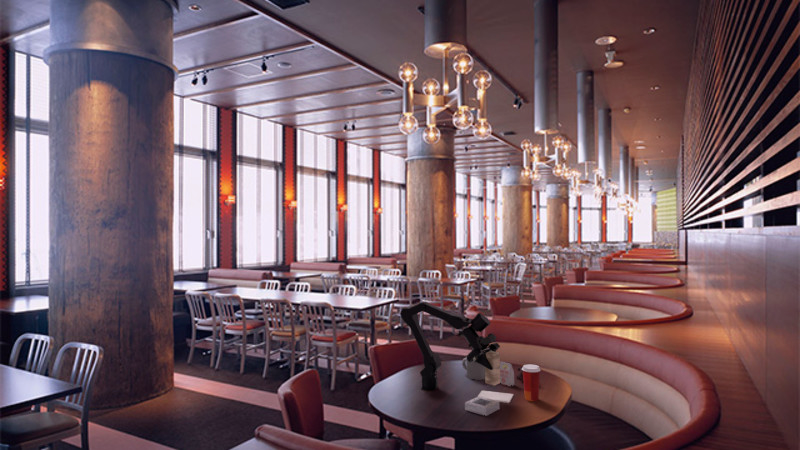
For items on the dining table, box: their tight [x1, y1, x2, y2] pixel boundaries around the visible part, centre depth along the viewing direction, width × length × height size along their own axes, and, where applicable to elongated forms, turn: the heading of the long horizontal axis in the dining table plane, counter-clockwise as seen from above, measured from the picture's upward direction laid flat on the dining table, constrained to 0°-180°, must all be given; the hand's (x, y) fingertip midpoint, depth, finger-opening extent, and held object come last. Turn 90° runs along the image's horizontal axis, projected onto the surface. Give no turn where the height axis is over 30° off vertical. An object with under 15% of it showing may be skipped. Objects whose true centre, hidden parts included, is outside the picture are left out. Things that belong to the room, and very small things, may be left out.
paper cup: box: [521, 364, 541, 402], centre depth 211 cm, size 8×8×14 cm
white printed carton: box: [499, 360, 515, 387], centre depth 232 cm, size 4×7×10 cm, turn 37°
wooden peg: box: [484, 351, 501, 387], centre depth 211 cm, size 4×4×13 cm
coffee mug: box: [461, 357, 485, 381], centre depth 245 cm, size 13×10×10 cm
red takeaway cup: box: [515, 366, 524, 382], centre depth 234 cm, size 7×7×15 cm
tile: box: [477, 390, 514, 404], centre depth 214 cm, size 14×10×1 cm
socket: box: [464, 395, 500, 417], centre depth 200 cm, size 10×10×3 cm
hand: (495, 368), depth 210 cm, fingers closed on wooden peg, 4 cm apart
